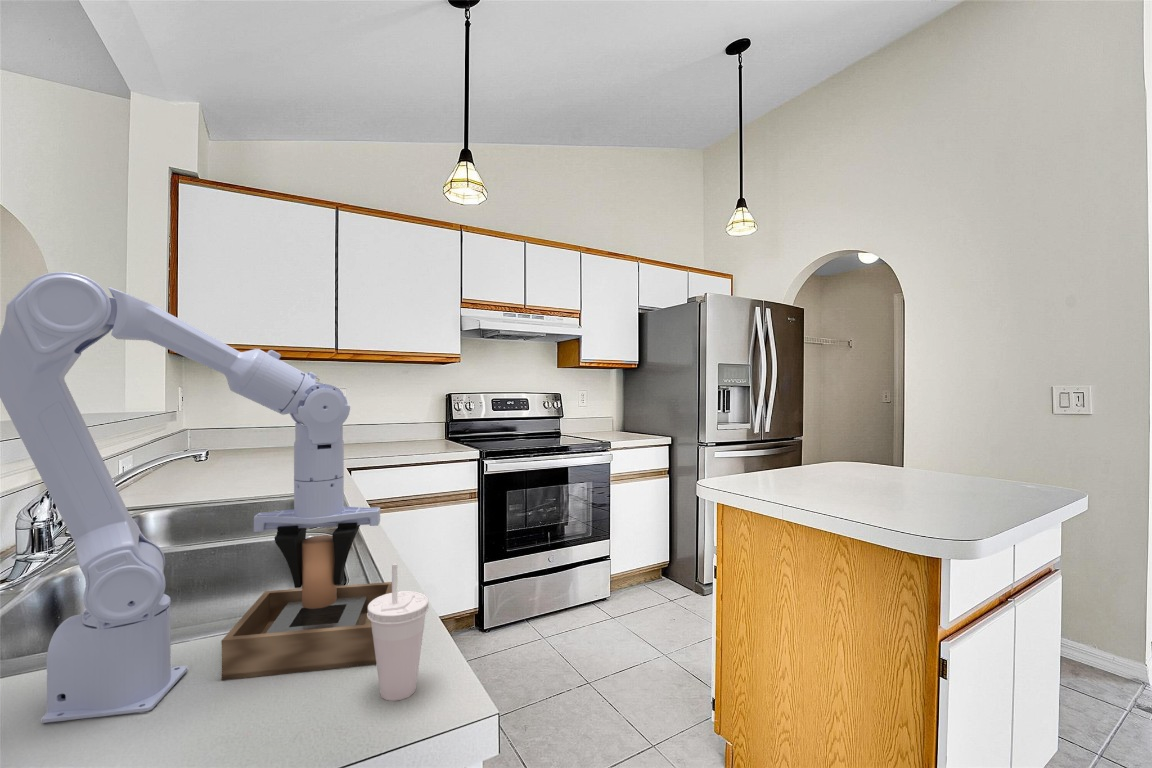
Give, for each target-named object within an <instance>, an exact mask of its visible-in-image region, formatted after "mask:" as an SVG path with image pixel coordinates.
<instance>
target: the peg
mask: <svg viewBox="0 0 1152 768" xmlns="http://www.w3.org/2000/svg"><path fill="white" fill-rule="evenodd" d="M334 565H335V556H334V543H333V534H332V535H331V534H330V535H329V534H328V535H327V534H324V535H323V534H320V535H315V536H311V537H306V538H305V539H304V540H303V541H302V586H301V589H302V606H303V607H304V608H309V609H316V608H322V607H326V606H329V605H331V604H333V603H335V602H336V600H337V586H338V585H334Z"/></svg>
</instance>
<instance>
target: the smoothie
mask: <svg viewBox="0 0 1152 768" xmlns="http://www.w3.org/2000/svg"><path fill="white" fill-rule="evenodd" d="M391 582H392V593H388V594H385V595H382V596H379V597H377V598H375V599H374V600H372V601H371V602H370V603H369V605H368V613H367V617H368V619H369V620H370V621H371V626H372V634H373V641H374V649H375V656H376V664H375V665H376V671H377V677H378V678H377V679H378V685H379V686H378V687H379V694H380V697H381V698H382V699H384V700H386V701H391V702H393V701H401V700H405V699H407V698H409V697H411V696H412V695H413V694H414V693H415V692H416V690H417V684H418V683H417V682H418V675H419V669H420V661H421V660H420V659H421V652H422V651H421V650H422V645H423V634H424V630H425V629H424V627H425V622H426V621H425V620H426V614H427V612H429V609H430V604H429V598H428V596H427V595H425V594H424V593H421V592H418V591H413V590H411V591H410V590H409V591H408V590H403V591H398V563H396V562H395V563H392V564H391Z"/></svg>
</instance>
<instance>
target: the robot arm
mask: <svg viewBox="0 0 1152 768" xmlns="http://www.w3.org/2000/svg"><path fill="white" fill-rule="evenodd" d="M107 289H108V290H109V292H110V294H111V296H112V297H110V296H109V295H108V293H107V292H106V290H105V289H104V288H103V287H102V286H101V285H100V284H99V283H98V282H96V281H95V280H93V279H92V278H89V277H88V276H86V275H83V274H80V273H76V272H70V271H53V272H48V273H44V274H42V275H39V276H36V277H35V278H34V279H31V280H30V281H29V282H28V283H27V284H26V285H24V287H23V288H22V289H21V290H20V291H19V292H18V293H17V294H16V295H14V297H13V298H12V299H11V300H10V301H8V303H7V304H6V307H5V308H6V309H5V318H4V323H3V325H2V328H1V331H0V400H1V402H2V404H3V406H4V408H5V410H6V412H7V414H8V416H9V418H10V420H11V422H12V424H13V426H14V427H15V430H16V431H17V433H18V436H19V437H20V440H21V441H22V443H23V445H24V447H25V449H26V451H27V452H28V455H29V457H30V459H31V461H32V462H33V465H34V466H35V469H36V471H37V472H38V474H39V476H40V478H41V480H42V482H43V484H44V486H45V488H46V490H47V491H48V493H49V495H50V498H51V499H52V502H53V503H54V506H55V507H56V509H57V512H58V514H59V516H60V517H61V518H62V520H63V523H64V525H65V526H66V529H67V530H68V532H69V534H70V537H72V540H73V543H74V547H75V551H76V557H77V561H78V566H79V568H80V571H81V572H82V575H83V577H84V580H85V581H84V582H85V588H84V593H83V605H84V608H85V611H84V612H83V613H81V614H76V615H72V616H70V617H67V618H66V619H64V621H62V622H61V623H60V624H59V625H58V627H57V628H56V630H55V631H54V633H53V634H52V637H51V639H50V642H49V644H48V648H47V651H46V652H47V654H46V713H45V714H44V715H43V716H42V717H41V723H42V724H43V723H53V722H62V721H63V722H64V721H71V720H72V721H73V720H79V719H80V720H81V719H89V718H97V717H98V718H99V717H107V716H117V715H124V714H133V713H144V712H149V711H151V710H152V709H154V708H155V707H156V705H158V704H159V702H160V701H162V699H163V698H164V697H165V695H166V694H168V692H169V691H170V690H171V689H172V688H173V687H174V685H176V684H177V682H178V681H179V680H180V679H181V678H182V676H184V675H185V674H186V672H187V671H188V669H189V668H188V666H187V665H182V666H181V665H180V666H179V665H178V666H171V663H172V661H171V660H172V656H171V653H172V652H171V651H172V650H171V649H172V648H171V647H172V646H171V640H172V639H171V638H172V637H171V636H172V635H171V633H172V632H171V597H170V596H169V595H167V594H166V593H165V591H166V577H165V574H164V570H165V565H166V558H165V554H164V552H163V550H162V549H161V547H160V546H159V545H157V544H156V543H155V542H153V541H152V540H150V539H148V538H146V537H145V535H144V534H143V532H142V531H141V529H140V527H139V525H138V523H137V522H136V521H135V520H134V518H133V516H131V515H130V513H129V511H128V509H127V506H126V505H125V502H124V501H123V498H122V496H121V494H120V492H119V490H118V488H117V486H116V484H115V482H114V480H113V478H112V475H111V474H110V471H109V470H108V468H107V465H106V464H105V461H104V459H103V456H102V455H101V452H100V451H99V448H98V446H97V444H96V442H95V441H94V438H93V437H92V434H91V433H90V429H89V428H88V426H87V425H86V422H85V420H84V418H83V415H82V414H81V411H80V410H79V407H78V405H77V404H76V401H75V400H74V397H73V394H72V393H71V391H70V389H69V387H68V384H67V383H66V380H65V377H66V375H67V374H68V373H69V371H70V370H71V368H72V367H73V366H74V365H75V363H76V362H77V360H79V358H80V357H81V355H82V353H83V352H84V351H85V350H87V349H88V348H89V347H91V346H92V345H94V344H96V342H98V341H100V340H101V339H103V338H104V337H105V336H107V335H108V334H109V333H110V332H111V336H112V337H113V338H115V339H116V340H123V341H124V340H127V341H128V340H129V341H131V340H132V341H146V342H148V341H149V342H151V343H154V344H155V345H158V346H160V347H163V348H164V349H167V350H169V351H171V352H174V353H176V354H179V355H180V356H182V357H185V358H187V359H189V360H192V361H194V362H196V363H199V364H201V365H202V366H205V367H208V368H210V369H212V370H215V371H216V372H218V373H220V374H223V375H224V376H225V377H226V381H227V384H228V388H229V390H230V391H231V392H233V393H235V394H237V395H239V396H241V397H244V398H245V399H248V400H250V401H252V402H254V403H257V404H259V405H261V406H263V407H264V408H267V409H270V410H272V411H274V412H276V413H278V414H280V415H283V416H284V415H290V417H291V419H292V420H293V421H294V422H295V423H294V425H295V426H294V428H295V429H294V431H295V432H294V433H295V437H294V438H295V441H294V442H293V507H294V508H293V509H287V510H286V509H285V510H278V511H268V512H267V511H266V512H259V513H257V514H255V515H254V516H253V533H255V532H256V533H257V532H258V533H261V532H265V531H267V530H268V531H271V530H277V532H276V535H275V536H274V543H275V544H276V545H277V547H278V548H279V550H280V552H281V553H282V555H283V557H284V559H285V561H286V563H287V566H288V567H289V571H290V573H291V576H292V581H293V586H294V589H301V588H302V541H303V540H304V539H306V538H307V537H306V536H307V529H308V528H311V529H312V528H328V527H337V528H336V529H335V530H334V531H333V532H332V536H333V543H334V556H335V565H334V585H337V586H341V584H342V582H343V580H344V574H345V573H344V572H345V570H346V569H345V568H346V564H347V560H348V556H349V553H350V551H351V547H352V545H353V543H354V540H355V539H356V535H357V533H358V531H359V529H360V527H361V526H367V525H369V526H370V527H375V526H379V524H380V522H381V507H380V506H379V507H375V506H374V507H365V506H363V507H362V506H345V505H344V504H345V501H344V493H345V492H344V491H345V490H344V489H345V488H344V486H345V485H344V481H345V480H344V479H345V478H344V474H345V473H344V468H345V467H344V466H345V465H344V463H345V460H344V457H345V456H344V451H345V449H344V444H345V443H344V438H343V437H344V436H343V435H344V427H343V426H344V425H343V424H344V423H345V422H346V421H347V419H348V418H349V415H350V411H351V406H350V405H349V404H348V400H347V397H346V396H345V395H344V393H343V391H342V390H341V389H339V388H338V387H336V386H334V385H332V384H328V383H327V384H326V383H323V382H319V381H317V379H318V375H317V374H316V373H314V372H312V371H309V372H307V373H306V372H304V371H303V370H300V369H299V368H296V367H295V366H292V365H290V364H289V363H287V362H286V361H283V360H281V359H280V358H281V357H282V355H281V353H279V352H276V351H275V350H273V349H270V350H268V351H267V352H265V351H264V350H262V349H260V348H254V349H250V350H246V351H239V350H237V349H236V348H233V347H231V346H230V345H228V344H226V343H225V342H223V341H221V340H219V339H217V338H216V337H213V336H212V335H210V334H208V333H206V332H204V331H202V330H200V329H199V328H196V327H195V326H193V325H192V324H189V323H188V322H187V321H184V320H182V319H180V318H179V317H176V316H175V315H173V314H171V313H169V312H168V311H166V310H164V309H162V308H160V307H158V306H156V305H154V304H152V303H150V302H147V301H145V300H143V299H140V298H138V297H135V296H134V295H131V294H129V293H126V292H124V291H122V290H118V289H115V288H113V287H110V286H107Z"/></svg>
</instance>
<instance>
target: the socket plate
mask: <svg viewBox="0 0 1152 768" xmlns="http://www.w3.org/2000/svg"><path fill="white" fill-rule="evenodd" d="M366 618H367V596H364V597H351V598H338V599H337V600H336V602H335V603H333V604H331V605H329V606H326V607H322V608H316V609H309V608H304V607H303V606H302V601H299V602H288V604H287V605H286V606H285V608H284V609H283V610H282V612H281V613H280V615H279V616H278V617H277V619H276V620H275V621H274V623H273V624H272V625H271V627H270V628H269V629H268V631H267V632H266V633H277V632H288V631H300V630H311V629H322V628H334V627H345V626H356V625H364V624H365V621H366Z"/></svg>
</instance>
